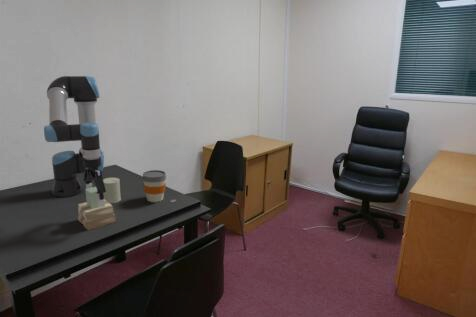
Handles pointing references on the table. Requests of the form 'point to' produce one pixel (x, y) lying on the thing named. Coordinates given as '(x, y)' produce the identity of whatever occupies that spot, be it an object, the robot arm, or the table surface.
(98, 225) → the block
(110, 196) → the can
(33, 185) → the table surface
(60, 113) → the robot arm
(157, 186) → the reusable coffee cup
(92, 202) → the green block
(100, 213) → the tower top
